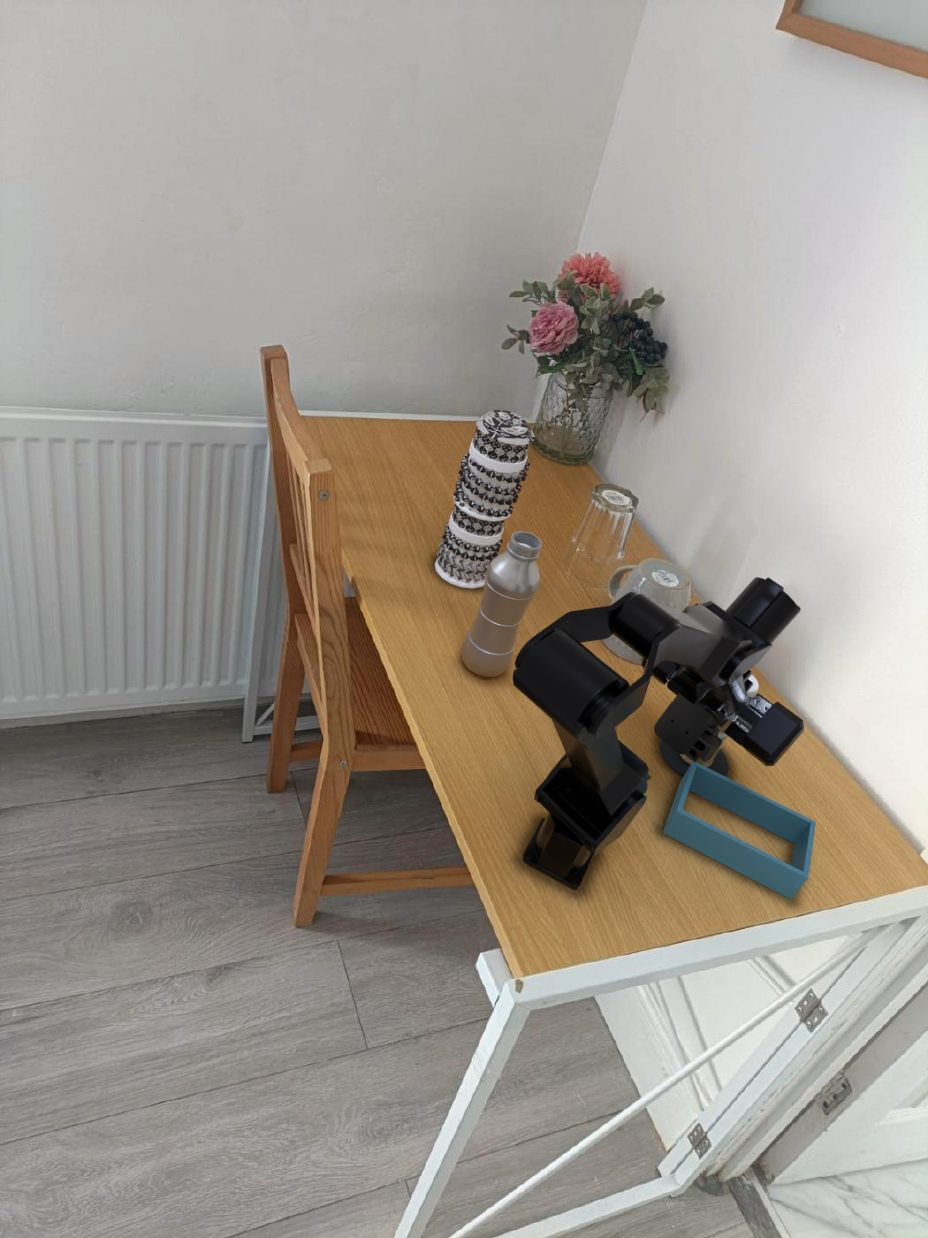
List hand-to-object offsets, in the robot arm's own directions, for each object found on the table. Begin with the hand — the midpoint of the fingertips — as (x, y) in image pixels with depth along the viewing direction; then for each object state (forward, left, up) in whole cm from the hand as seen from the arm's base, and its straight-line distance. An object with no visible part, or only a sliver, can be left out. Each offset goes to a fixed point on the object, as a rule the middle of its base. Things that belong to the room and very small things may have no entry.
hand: (724, 712), depth 107 cm
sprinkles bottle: (-2, +1, -7) cm, 7 cm away
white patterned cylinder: (+14, +41, -8) cm, 43 cm away
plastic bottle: (-4, +29, -8) cm, 31 cm away
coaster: (-1, +1, -7) cm, 7 cm away
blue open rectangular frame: (-11, -6, -7) cm, 15 cm away
